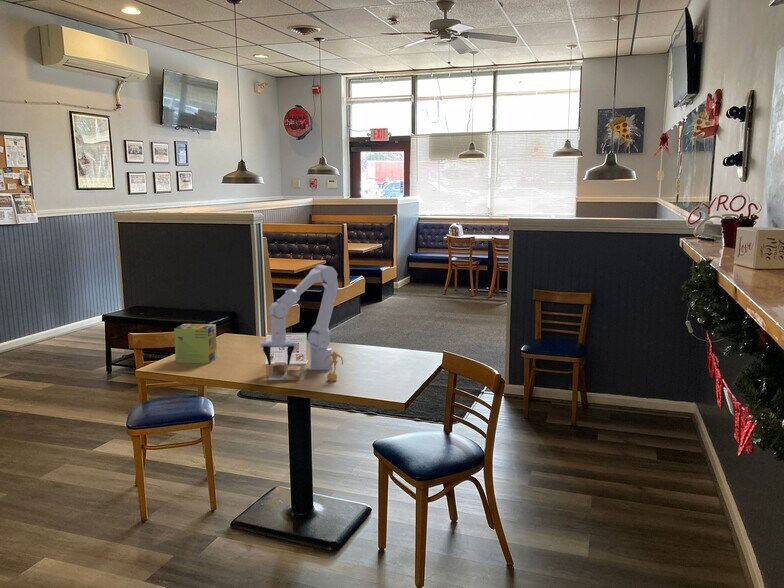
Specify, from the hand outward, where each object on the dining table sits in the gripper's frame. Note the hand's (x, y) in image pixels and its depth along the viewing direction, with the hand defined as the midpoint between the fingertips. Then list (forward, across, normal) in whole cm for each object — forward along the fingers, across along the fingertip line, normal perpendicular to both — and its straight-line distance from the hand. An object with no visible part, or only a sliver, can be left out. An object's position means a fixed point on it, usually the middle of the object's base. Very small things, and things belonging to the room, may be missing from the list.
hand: (279, 364), depth 251 cm
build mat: (+4, -4, +3) cm, 7 cm away
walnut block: (+4, 0, 0) cm, 4 cm away
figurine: (+4, -22, +9) cm, 25 cm away
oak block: (+4, -7, +6) cm, 10 cm away
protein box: (+5, +40, -24) cm, 46 cm away
